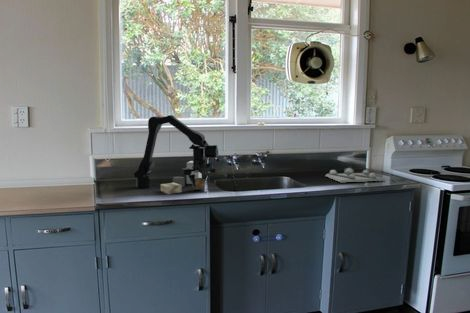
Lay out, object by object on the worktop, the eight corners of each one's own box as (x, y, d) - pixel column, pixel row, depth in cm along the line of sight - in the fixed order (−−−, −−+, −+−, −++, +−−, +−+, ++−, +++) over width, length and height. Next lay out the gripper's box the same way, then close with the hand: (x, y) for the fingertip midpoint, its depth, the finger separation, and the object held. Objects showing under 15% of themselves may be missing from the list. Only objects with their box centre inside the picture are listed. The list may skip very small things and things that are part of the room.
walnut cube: (196, 189, 212) (196, 180, 212) (192, 187, 217) (192, 178, 216) (204, 188, 215) (204, 179, 214) (200, 186, 219) (200, 177, 219)
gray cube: (176, 187, 223) (176, 178, 222) (172, 185, 227) (172, 177, 226) (184, 186, 225) (184, 177, 225) (181, 184, 230) (181, 176, 229)
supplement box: (198, 184, 230) (198, 162, 228) (186, 184, 232) (186, 162, 230) (202, 182, 237) (202, 161, 235) (190, 181, 239) (190, 160, 237)
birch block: (168, 194, 207) (168, 187, 206) (160, 191, 213) (160, 184, 212) (181, 192, 212) (181, 185, 211) (173, 189, 218) (173, 182, 217)
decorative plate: (340, 184, 237) (341, 172, 236) (324, 177, 258) (325, 166, 257) (385, 182, 244) (386, 171, 243) (366, 176, 265) (367, 165, 264)
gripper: (188, 160, 202) (188, 191, 204) (221, 158, 211) (220, 187, 214) (179, 157, 211) (180, 186, 214) (211, 155, 221) (211, 183, 223)
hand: (198, 186), depth 216 cm, fingers closed on walnut cube, 5 cm apart
